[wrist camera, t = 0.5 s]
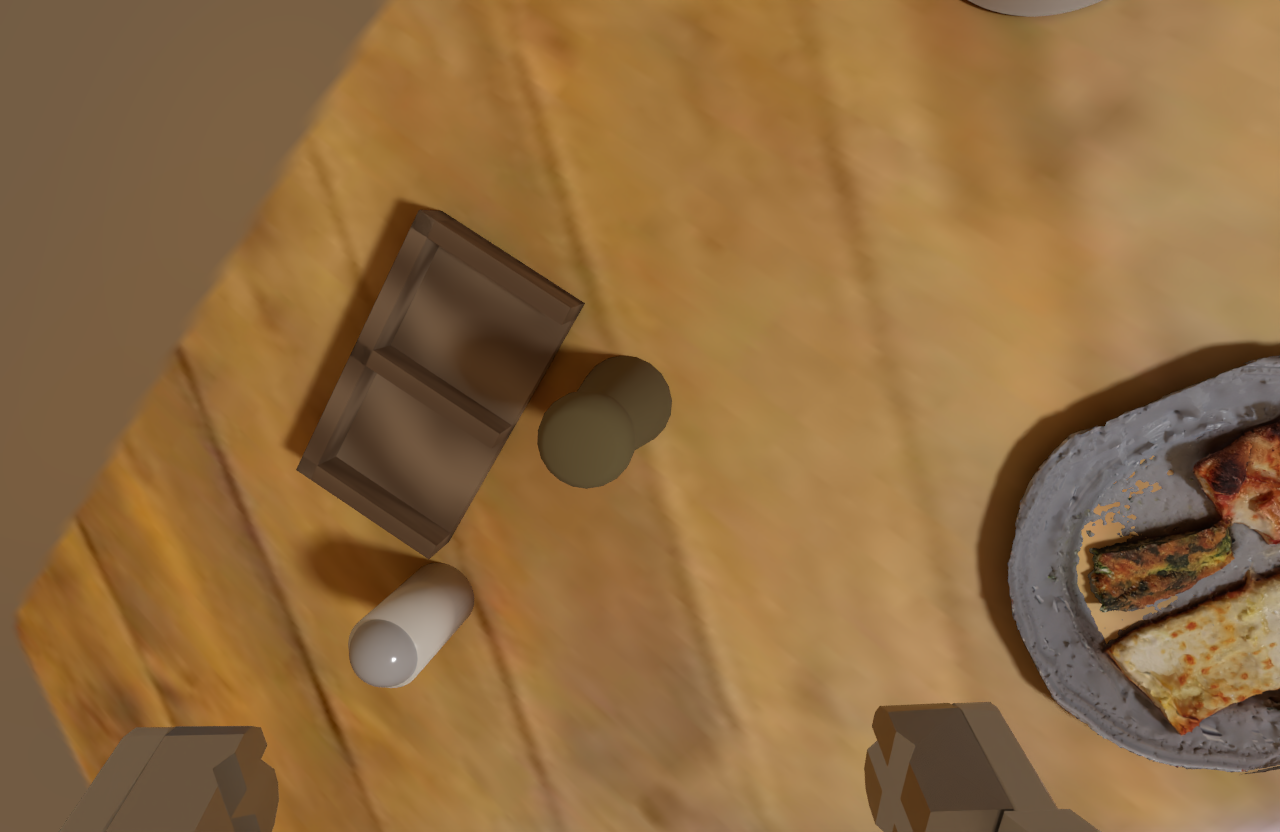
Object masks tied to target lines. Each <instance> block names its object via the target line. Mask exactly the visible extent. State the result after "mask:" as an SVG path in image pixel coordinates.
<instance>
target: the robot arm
mask: <svg viewBox="0 0 1280 832" xmlns="http://www.w3.org/2000/svg"><path fill="white" fill-rule="evenodd" d="M968 1H970V2H972V3H974V4H976V5H978V6H981V7H983V8H986V9H989V10H992V11H995V12H999V13H1003V14H1009V15H1016V16H1048V15H1056V14H1061V13H1066V12H1071V11H1074V10H1078V9H1081V8H1084V7H1087V6H1090V5H1092V4H1095V3H1097V2H1099V1H1102V0H968ZM872 728H873V730H874V733H875V735H876V738H877V741H876V742H875V743H874V744H873V745H872V746H871V747H870V748H868V749H867V754H866V760H865V767H864V770H865V787H866V793H867V797H868V802H869V806H870V809H871V812H872V815H873V818H874V821H875V824H876V825H877V826H878V827H879V828H880V829H882V830H883V831H884V832H1101V831H1099V830H1098V829H1096V828H1095V827H1094V826H1092V825H1091V824H1090V823H1088V822H1087V821H1085V820H1084V819H1083V818H1081V817H1080V816H1079V815H1077V814H1076V813H1074V812H1073V811H1072V810H1070V809H1058V808H1057V806H1056V804H1055V803H1054V801H1053V799H1052V798H1051V796H1050V794H1049V793H1048V791H1047V789H1046V788H1045V786H1044V784H1043V783H1042V781H1041V779H1040V778H1039V776H1038V774H1037V773H1036V771H1035V769H1034V768H1033V766H1032V764H1031V763H1030V761H1029V759H1028V758H1027V756H1026V754H1025V753H1024V751H1023V749H1022V748H1021V746H1020V744H1019V743H1018V741H1017V739H1016V738H1015V736H1014V734H1013V733H1012V731H1011V729H1010V728H1009V726H1008V724H1007V723H1006V721H1005V719H1004V718H1003V716H1002V714H1001V713H1000V711H999V709H998V708H997V707H996V706H995V705H993V704H992V703H991V702H976V703H953V704H950V703H937V704H914V705H891V706H879V708H878V709H877V710H876V712H875V715H874V719H873V724H872ZM266 747H267V743H266V740H265V738H264V735H263V732H262V729H261V727H254V726H203V727H139V728H135V729H134V730H132V731H131V732H130V733H128V734H127V735H126V736H124V737H123V738H122V740H121V741H120V743H119V744H118V745H117V747H116V748H115V750H114V751H113V753H112V754H111V756H110V757H109V759H108V760H107V762H106V763H105V765H104V766H103V768H102V769H101V770H100V772H99V773H98V775H97V776H96V778H95V779H94V781H93V782H92V784H91V785H90V787H89V788H88V790H87V791H86V793H85V794H84V796H83V797H82V798H81V800H80V801H79V803H78V804H77V806H76V807H75V809H74V810H73V812H72V813H71V814H70V816H69V818H68V819H67V820H66V822H65V823H64V825H63V826H62V828H61V829H60V831H59V832H272V829H273V827H274V823H275V818H276V812H277V807H278V802H279V794H278V781H277V777H276V773H275V770H274V769H273V768H272V767H271V766H269V765H268V764H267V763H265V762H264V761H263V760H261V758H262V756H263V754H264V751H265V749H266Z"/></svg>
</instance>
